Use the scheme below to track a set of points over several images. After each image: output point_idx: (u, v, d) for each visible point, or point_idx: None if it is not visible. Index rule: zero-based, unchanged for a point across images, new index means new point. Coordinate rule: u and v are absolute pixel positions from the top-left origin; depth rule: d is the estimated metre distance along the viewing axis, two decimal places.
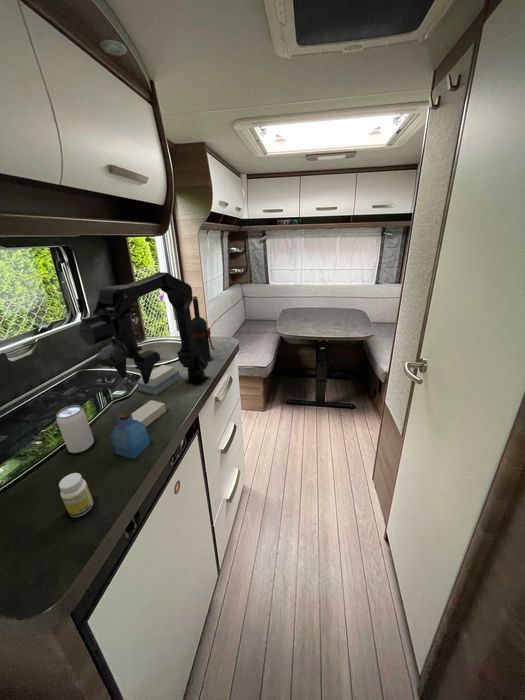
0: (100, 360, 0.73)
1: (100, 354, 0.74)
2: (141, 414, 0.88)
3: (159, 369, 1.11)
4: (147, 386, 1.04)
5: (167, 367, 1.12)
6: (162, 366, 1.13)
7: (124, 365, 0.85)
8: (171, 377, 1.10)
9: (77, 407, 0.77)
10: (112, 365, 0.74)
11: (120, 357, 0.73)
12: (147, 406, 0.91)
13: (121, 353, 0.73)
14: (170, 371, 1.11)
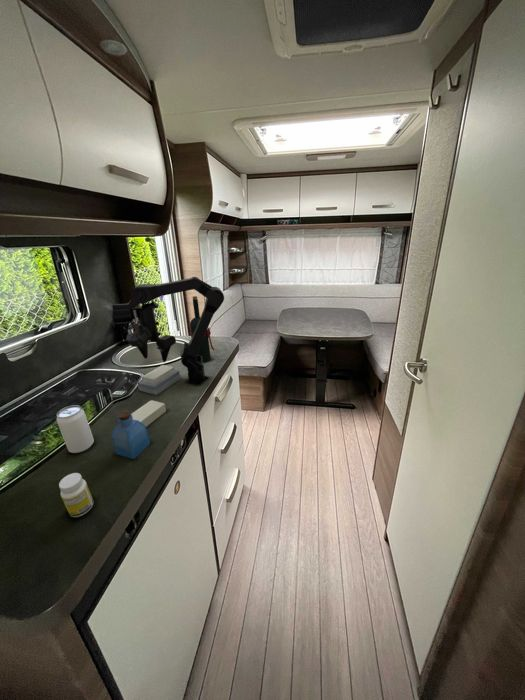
0: (130, 341, 0.95)
1: (130, 337, 0.96)
2: (141, 414, 0.88)
3: (159, 369, 1.11)
4: (147, 386, 1.04)
5: (167, 367, 1.12)
6: (162, 366, 1.13)
7: (146, 348, 1.07)
8: (171, 377, 1.10)
9: (77, 407, 0.77)
10: (140, 345, 0.95)
11: (146, 339, 0.95)
12: (147, 406, 0.91)
13: (146, 336, 0.95)
14: (170, 371, 1.11)
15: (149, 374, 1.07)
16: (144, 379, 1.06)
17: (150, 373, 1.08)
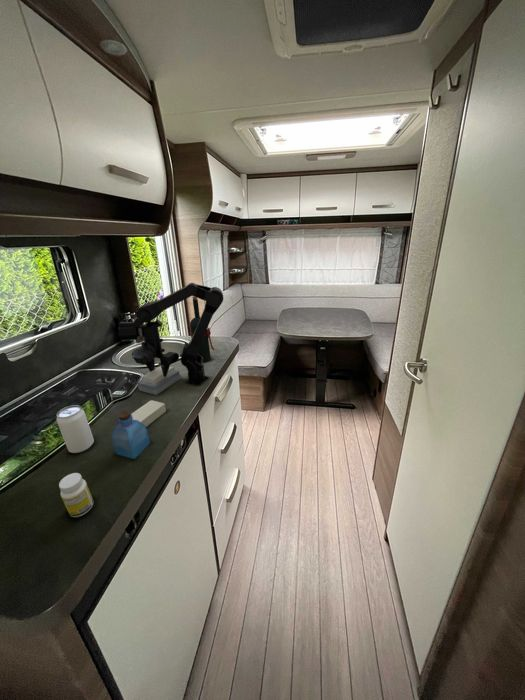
0: (135, 359, 0.99)
1: (135, 354, 0.99)
2: (141, 414, 0.88)
3: (159, 369, 1.11)
4: (147, 386, 1.04)
5: None
6: None
7: (153, 363, 1.10)
8: (171, 377, 1.10)
9: (77, 407, 0.77)
10: (144, 362, 0.99)
11: (150, 356, 0.99)
12: (147, 406, 0.91)
13: (151, 354, 0.99)
14: (170, 371, 1.11)
15: (149, 374, 1.07)
16: (144, 379, 1.05)
17: (150, 373, 1.08)
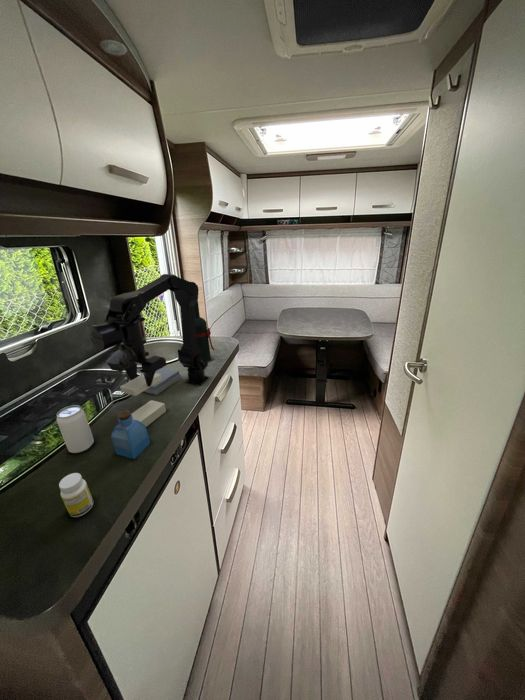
0: (110, 365, 0.78)
1: (110, 359, 0.79)
2: (141, 414, 0.88)
3: (142, 376, 0.90)
4: None
5: None
6: None
7: (135, 370, 0.89)
8: (171, 377, 1.10)
9: (77, 407, 0.77)
10: (121, 369, 0.78)
11: (129, 362, 0.78)
12: (147, 406, 0.91)
13: (129, 358, 0.78)
14: (156, 379, 0.90)
15: (129, 383, 0.86)
16: (123, 390, 0.85)
17: (131, 382, 0.87)
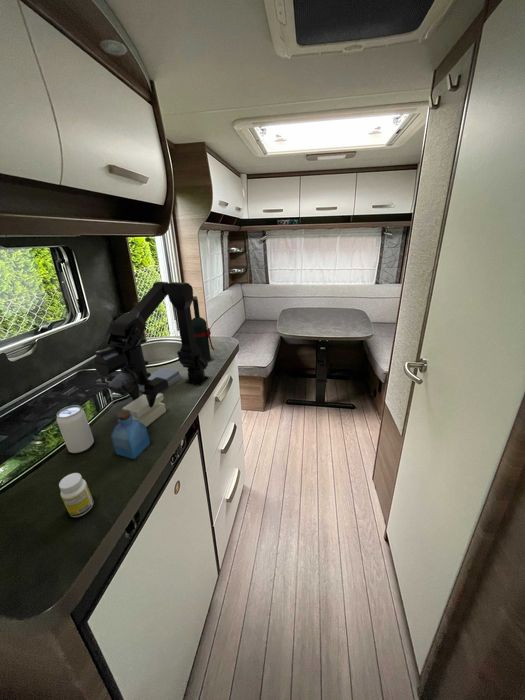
0: (112, 388, 0.78)
1: (112, 382, 0.79)
2: None
3: (145, 396, 0.90)
4: None
5: None
6: None
7: (137, 390, 0.89)
8: (171, 377, 1.10)
9: (77, 407, 0.77)
10: (124, 393, 0.78)
11: (131, 386, 0.78)
12: None
13: (132, 382, 0.78)
14: (158, 399, 0.90)
15: (131, 405, 0.86)
16: None
17: (133, 403, 0.87)
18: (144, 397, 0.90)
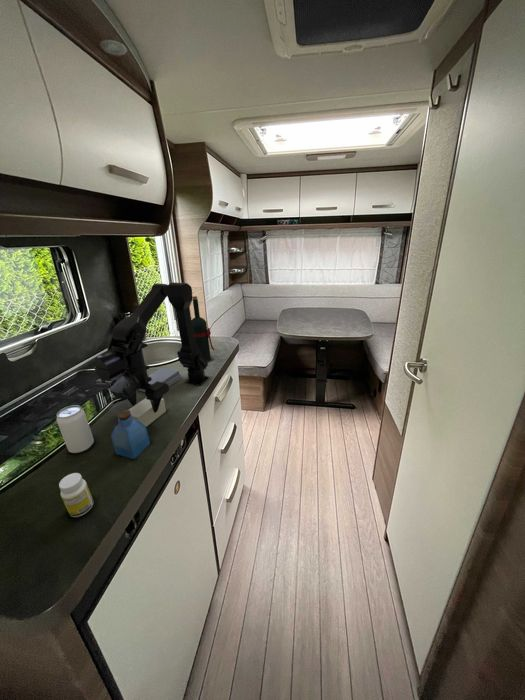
0: (113, 393, 0.78)
1: (113, 387, 0.79)
2: None
3: (146, 401, 0.91)
4: None
5: None
6: None
7: (134, 393, 0.90)
8: (171, 377, 1.10)
9: (77, 407, 0.77)
10: (125, 397, 0.79)
11: (132, 390, 0.78)
12: None
13: (133, 386, 0.78)
14: None
15: (133, 409, 0.87)
16: None
17: (134, 408, 0.87)
18: (145, 402, 0.90)
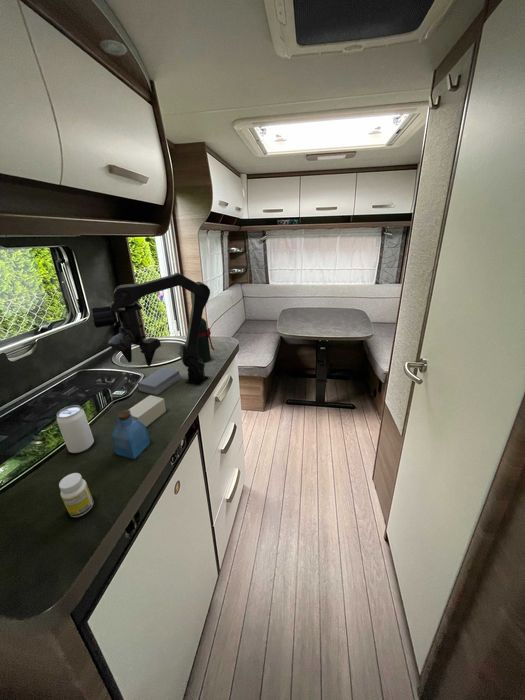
0: (112, 345, 0.90)
1: (112, 340, 0.91)
2: None
3: (146, 401, 0.91)
4: (147, 386, 1.04)
5: (155, 399, 0.92)
6: (149, 397, 0.93)
7: (130, 351, 1.02)
8: (171, 377, 1.10)
9: (77, 407, 0.77)
10: (122, 349, 0.91)
11: (128, 342, 0.90)
12: None
13: (129, 339, 0.90)
14: (159, 404, 0.91)
15: (133, 409, 0.87)
16: None
17: (134, 408, 0.87)
18: (145, 402, 0.90)
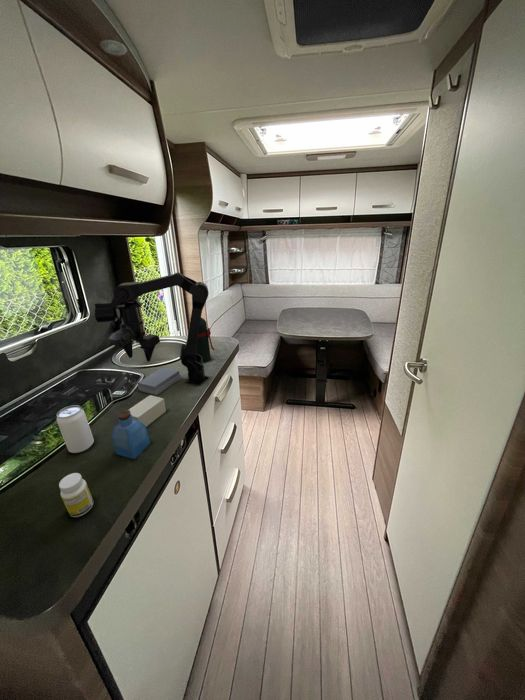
0: (113, 341, 0.94)
1: (113, 336, 0.95)
2: None
3: (146, 401, 0.91)
4: (147, 386, 1.04)
5: (155, 399, 0.92)
6: (149, 397, 0.93)
7: (131, 347, 1.06)
8: (171, 377, 1.10)
9: (77, 407, 0.77)
10: (122, 345, 0.94)
11: (128, 338, 0.94)
12: None
13: (129, 335, 0.94)
14: (159, 404, 0.91)
15: (133, 409, 0.87)
16: None
17: (134, 408, 0.87)
18: (145, 402, 0.90)
